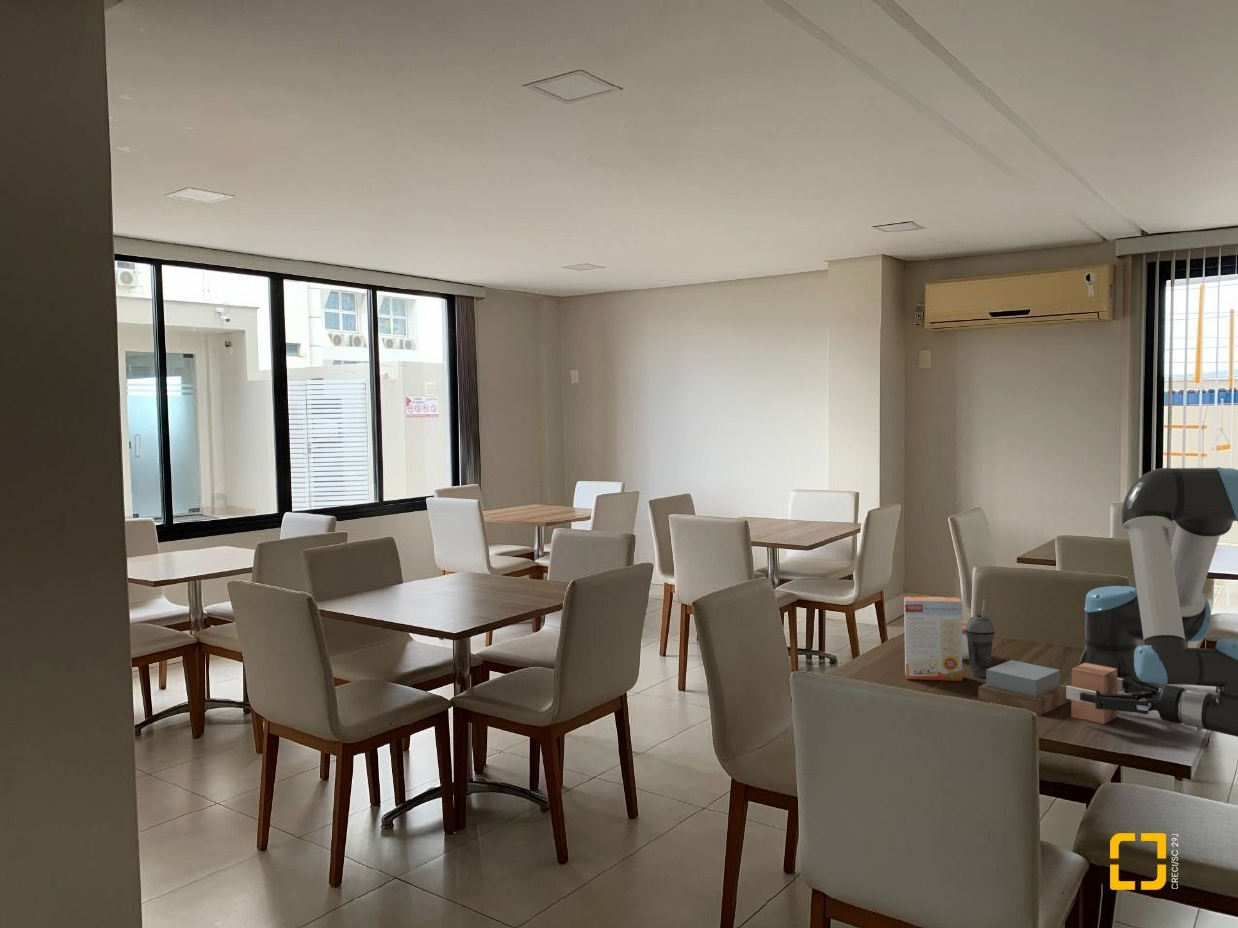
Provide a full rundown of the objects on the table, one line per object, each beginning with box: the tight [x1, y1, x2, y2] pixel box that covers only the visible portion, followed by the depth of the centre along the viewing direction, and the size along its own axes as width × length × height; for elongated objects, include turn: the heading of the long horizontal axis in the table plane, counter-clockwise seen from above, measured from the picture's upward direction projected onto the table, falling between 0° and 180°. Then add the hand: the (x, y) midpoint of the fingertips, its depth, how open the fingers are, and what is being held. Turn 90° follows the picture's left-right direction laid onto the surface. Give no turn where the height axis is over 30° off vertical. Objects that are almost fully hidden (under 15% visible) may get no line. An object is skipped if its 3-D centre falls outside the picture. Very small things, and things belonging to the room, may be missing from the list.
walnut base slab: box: [977, 683, 1071, 716], centre depth 220 cm, size 15×15×4 cm
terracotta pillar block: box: [1070, 663, 1118, 725], centre depth 208 cm, size 7×7×11 cm
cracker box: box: [903, 596, 964, 682], centre depth 240 cm, size 14×6×21 cm, turn 76°
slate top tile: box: [985, 659, 1061, 697], centre depth 220 cm, size 12×12×4 cm
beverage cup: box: [965, 598, 996, 678], centre depth 242 cm, size 7×7×20 cm
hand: (1079, 685), depth 210 cm, fingers open, 13 cm apart
